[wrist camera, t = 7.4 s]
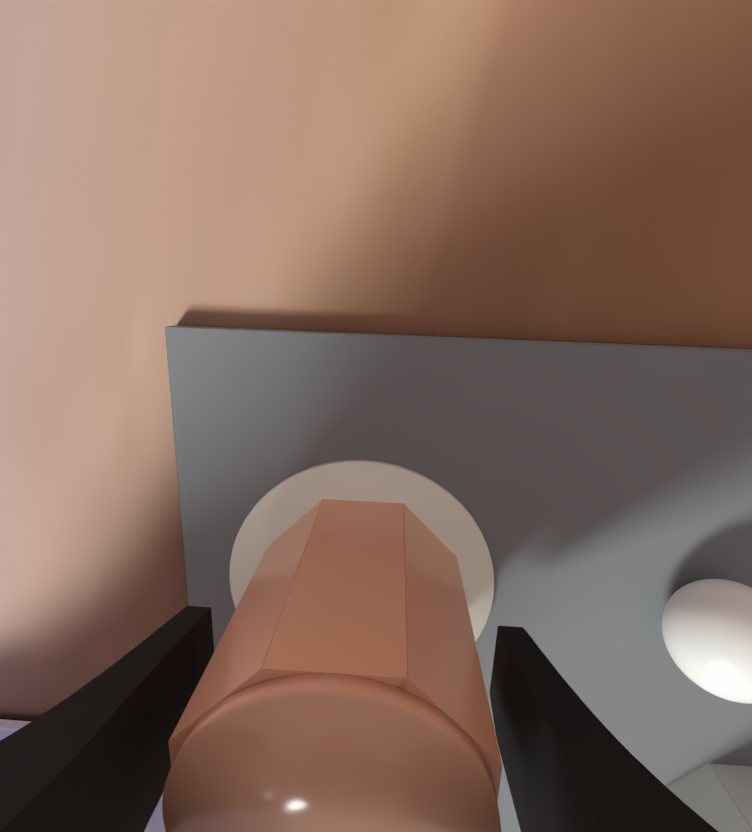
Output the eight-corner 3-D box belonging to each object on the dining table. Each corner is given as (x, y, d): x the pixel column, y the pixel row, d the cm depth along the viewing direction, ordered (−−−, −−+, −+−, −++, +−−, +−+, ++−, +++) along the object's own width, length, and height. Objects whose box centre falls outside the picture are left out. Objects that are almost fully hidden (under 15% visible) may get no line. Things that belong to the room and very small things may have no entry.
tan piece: (271, 656, 15) (176, 928, 8) (265, 495, 13) (146, 682, 7) (446, 668, 14) (483, 956, 8) (461, 506, 13) (520, 708, 7)
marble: (632, 639, 14) (692, 728, 11) (651, 554, 13) (721, 626, 11) (731, 646, 14) (818, 737, 11) (757, 560, 13) (856, 635, 10)
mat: (215, 836, 18) (209, 854, 18) (175, 325, 13) (164, 326, 12) (785, 883, 17) (798, 903, 17) (992, 358, 12) (1022, 362, 12)
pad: (238, 677, 15) (235, 685, 15) (226, 452, 13) (222, 456, 13) (478, 694, 15) (480, 702, 15) (506, 466, 13) (508, 470, 13)
